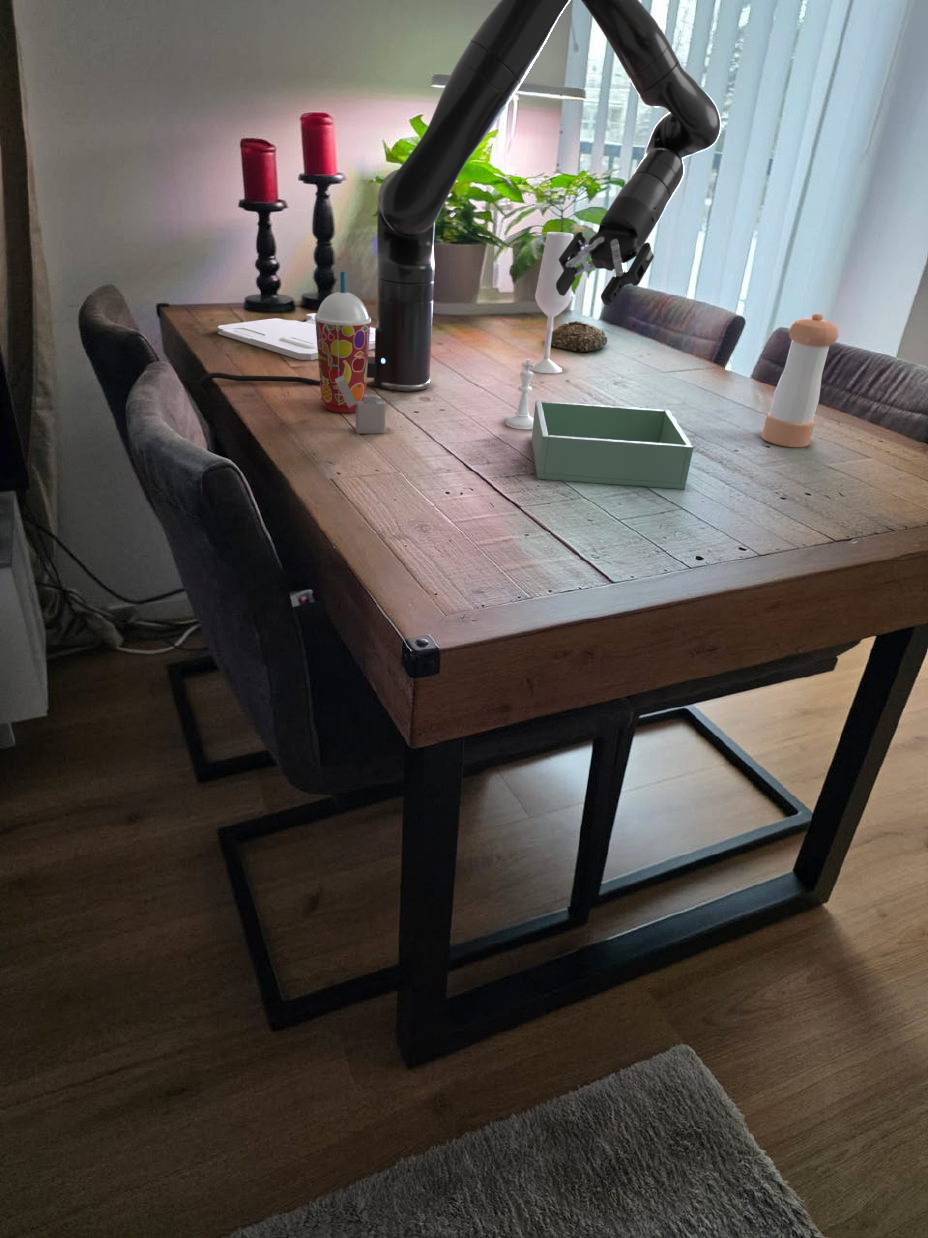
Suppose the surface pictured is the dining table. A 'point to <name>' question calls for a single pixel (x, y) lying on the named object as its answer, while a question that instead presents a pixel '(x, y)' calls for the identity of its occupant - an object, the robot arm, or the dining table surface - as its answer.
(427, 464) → the dining table surface
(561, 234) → the champagne flute
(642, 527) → the dining table surface
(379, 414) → the lighter
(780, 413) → the pepper shaker
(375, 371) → the robot arm
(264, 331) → the tray
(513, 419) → the chess piece
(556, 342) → the bread roll
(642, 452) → the open box
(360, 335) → the smoothie
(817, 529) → the dining table surface
